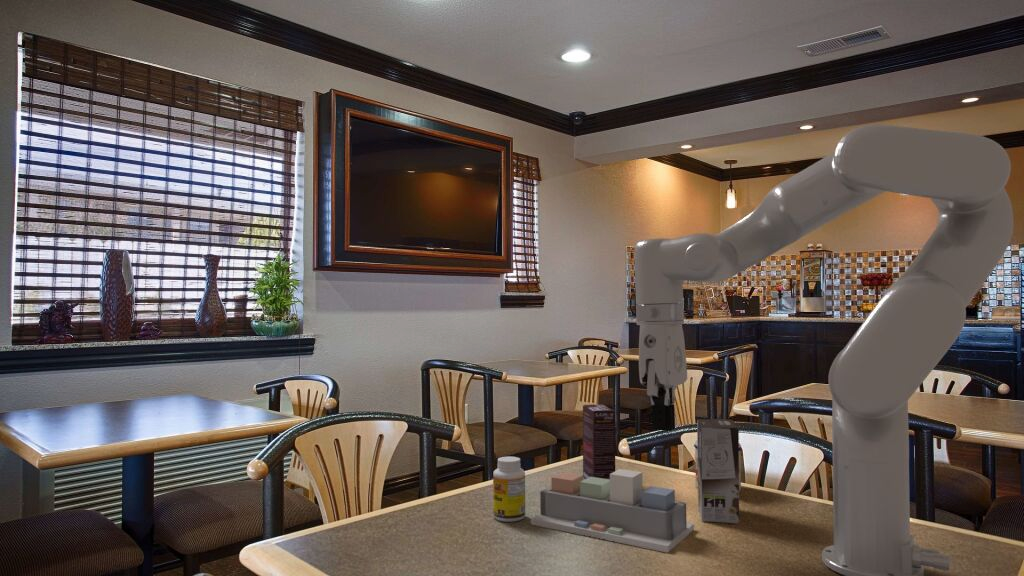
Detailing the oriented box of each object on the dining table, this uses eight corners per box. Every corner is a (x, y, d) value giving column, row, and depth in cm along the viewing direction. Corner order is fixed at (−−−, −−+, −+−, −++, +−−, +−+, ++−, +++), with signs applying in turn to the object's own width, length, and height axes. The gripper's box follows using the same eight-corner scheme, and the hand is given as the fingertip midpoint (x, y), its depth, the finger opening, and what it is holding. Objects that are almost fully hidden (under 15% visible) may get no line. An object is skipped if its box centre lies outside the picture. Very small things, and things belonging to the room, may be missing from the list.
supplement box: (617, 490, 134) (616, 410, 135) (593, 491, 134) (592, 411, 134) (604, 479, 143) (603, 403, 143) (582, 480, 142) (581, 404, 143)
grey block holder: (694, 529, 111) (693, 499, 111) (667, 552, 101) (667, 519, 101) (565, 506, 124) (565, 478, 125) (530, 524, 114) (530, 494, 114)
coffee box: (740, 524, 114) (739, 427, 114) (701, 522, 115) (700, 426, 116) (734, 508, 123) (733, 418, 123) (697, 506, 124) (696, 417, 124)
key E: (612, 509, 115) (611, 479, 115) (601, 515, 112) (601, 485, 112) (590, 505, 117) (590, 476, 117) (580, 511, 114) (579, 481, 114)
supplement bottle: (489, 514, 120) (489, 456, 120) (519, 511, 121) (519, 454, 122) (498, 524, 114) (498, 463, 115) (529, 521, 116) (529, 461, 116)
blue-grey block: (674, 521, 109) (674, 489, 109) (666, 528, 106) (665, 495, 106) (651, 516, 111) (651, 486, 111) (641, 523, 108) (641, 491, 108)
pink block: (583, 504, 118) (582, 475, 118) (572, 510, 115) (572, 480, 115) (562, 500, 120) (562, 472, 120) (551, 506, 117) (551, 477, 117)
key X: (642, 502, 112) (642, 472, 112) (632, 508, 109) (632, 477, 109) (620, 498, 114) (619, 468, 114) (610, 504, 111) (609, 474, 111)
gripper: (666, 316, 102) (670, 439, 101) (697, 314, 114) (701, 423, 114) (619, 317, 106) (623, 435, 105) (654, 314, 118) (658, 420, 118)
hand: (663, 429), depth 109 cm, fingers closed
